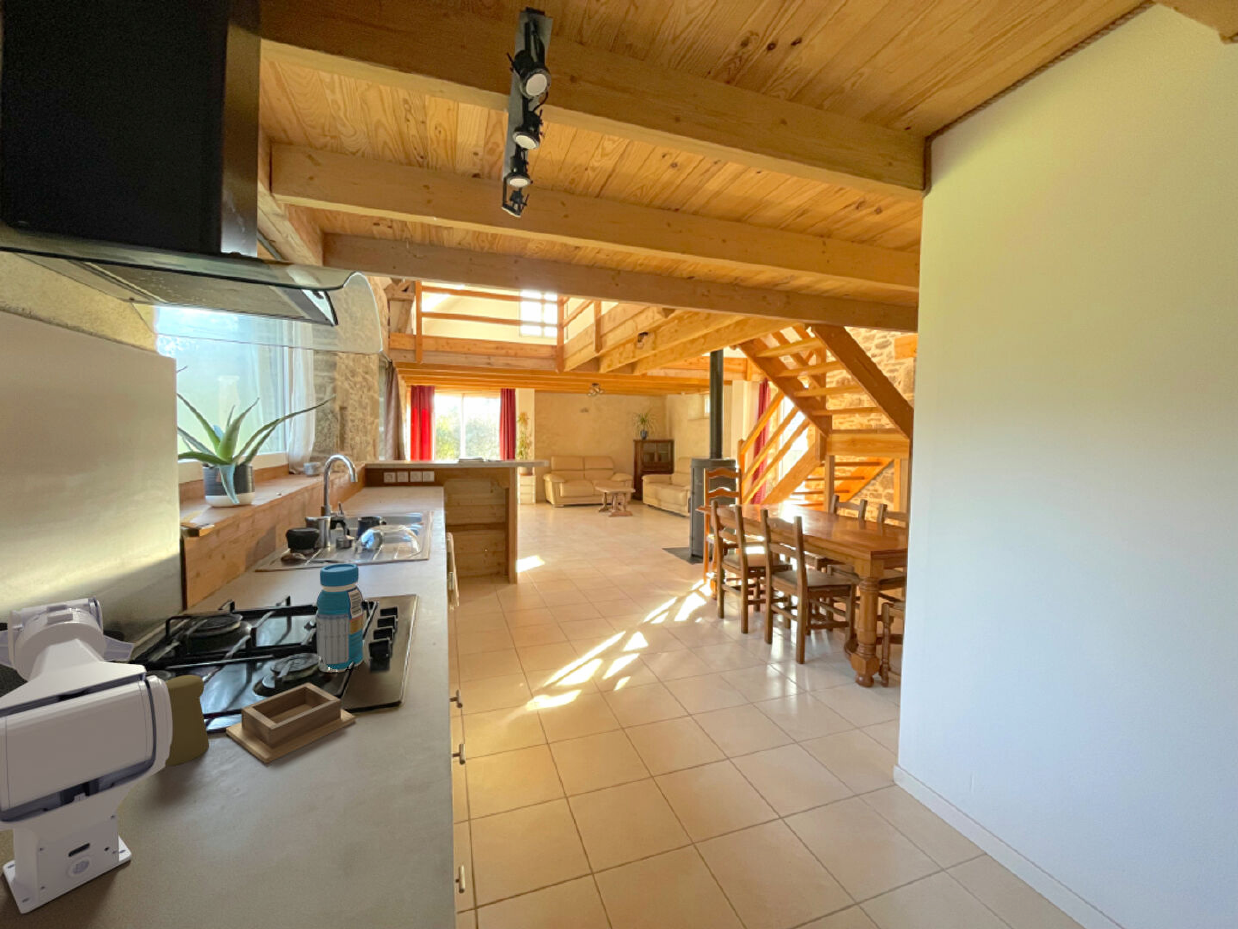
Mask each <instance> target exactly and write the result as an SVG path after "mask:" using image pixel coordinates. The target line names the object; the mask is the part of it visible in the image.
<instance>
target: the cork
mask: <svg viewBox="0 0 1238 929" xmlns="http://www.w3.org/2000/svg"><path fill="white" fill-rule="evenodd" d="M165 683H166V686H167V689H168V693H169V697H170V703H171V711H172V742H171V745H170V751H169V757H168V758H167V760H166V761H165V767H172V766H178V765H181V764H185V763H187V762H190V761H192V760H195V759H197V758H199V757H200V756H202V755H203V754H204V753H205V752H207V751H208V749H209V747H210V742H209V738H208V737H209V736H208V732H207V727H206V722H205V717H204V713H203V708H202V703H201V696H202V695H203V693H204V690H205V682H204V680H203V678H202V677H201V676H199V675H195V674H188V675H187V674H186V675H179V676H177V677H176V676H175V677H174V678H171V679H169V680H167V681H165Z"/></svg>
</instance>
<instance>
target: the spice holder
mask: <svg viewBox="0 0 1238 929" xmlns="http://www.w3.org/2000/svg"><path fill="white" fill-rule="evenodd" d="M341 702H342V701H341V699H340V698H338V697H337V696H334V695H332V694H331V693H329V692H327V691H326V690H323V689H322V688H320V687H318V686H317V685H314V684H312V683H311V682H306V683H303V684H301V685H298V686H296V687H293V688H290V689H288V690H287V689H286V690H285V691H282V692H279V693H277V694H274V695H272V696H269V697H267V698H264V699H261V700H259V701H256V702H254V703H251V704H249V705H245V706H243V707H241V708H240V713H241V714H240V716H241V719H240V722H238V723H235V724H233V725H230V726H228V727H226V728H225V734H227V735H228V736H229V737H230V738H232V739H233V740H234V741H236V742H237V743H238V744H240V745H241V746H242V747H243V748H245V749H246V750H247V751H249V752H250V753H251V754H253V756H255V757H256V758H258V759H259V760H260V761H261V762H263V763H264V764H268V763H271V762H272V761H275V760H277V759H279V758H281V757H283V756H285V755H288V754H289V753H292V752H294V751H295V750H298V749H300V748H301V747H304V746H306V745H309V744H310V743H312V742H314V741H317V740H319V739H320V738H323V737H325V736H327V735H329V734H331V733H333V732H336V731H338V730H340V729H342V728H344V727H346V726H348V725H350V724H352V723H355V722H356V716H355V715H353V714H351V713H350V712H348V711H346V710H344V709H343V708H342V707H341V706H342V705H341V704H342V703H341Z"/></svg>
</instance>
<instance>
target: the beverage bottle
mask: <svg viewBox="0 0 1238 929" xmlns="http://www.w3.org/2000/svg"><path fill="white" fill-rule="evenodd" d="M359 571H360V570H359V566H358V565H357V564H355V563H349V562H348V563H336V564H335V563H334V564H331V565H326V566H323V567H322V568H320V572H319V580H320V581H319V584H320V586H321V587H322V589H321V591H320V592H319V594H318V596H317V599H316V602H315V606H316V607H317V611H316V613H315V622H316V652H317V653H316V656H317V655H319V656H321V658H322V660H323V662H324V663H325V664H326V665H327V666H328V667H330V668H332V669H337V670H338V671H339V672H338V673H343V672H346V671H345V670H346V669H347V667H348V666H349V665H350V664H351V663H352V662H355V666H356V667H355V668H357V667H358V666H359V665H361V664H362V662H363V660H364V651H363V646H364V644H363V642H364V639H363V637H364V636H363V629H364V628H363V626H364V625H363V624H364V623H363V622H364V620H363V619H364V618H363V616H364V611H365V610H364V607H363V605H362V602H363V601H364V600H363V598H364V596H363V594H362V592H361V590H360V588H359V587H358V586H357V583H358V582H359V578H360V577H359V576H360V575H359Z"/></svg>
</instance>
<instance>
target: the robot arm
mask: <svg viewBox="0 0 1238 929" xmlns="http://www.w3.org/2000/svg"><path fill="white" fill-rule="evenodd" d="M125 638H126V637H125V633H124V632H123V631H121V630H116V629H115V630H114V629H104V620H103V611H102V607H101V603H100V601H99V600H98V599H97V597H96V595H93V596H92V597H89V598H87V597H85V598H79V599H72V600H67V601H60V602H55V603H53V602H52V603H49V604H42V605H36V606H35V605H34V606H29V607H23V608H21V610H19V611H17V610H15V609H13V610H10V612H9V615H8V619H7V622H0V668H1V667H3V666H6V667H8V668H11V669H13V671H16V672H17V673H18V675H19V676H20V677H21V678H22V679H24V680H25V681H27V682H26V683H24V684H22V685H21V686H18V687H17V688H15V689H14V690H12V691H9V692H8V693H6V694H4V695H2V696H1V697H0V832H2V831H3V832H4V831H10V830H12V837H13V840H12V841H13V842H12V843H13V856H14V857H13V858H14V859H13V860H10V861H8V862H7V863H5V864H4V865H2V872H3V874H4V877H5V879H6V881H7V884H8V887H9V888H10V891H11V894H12V896H13V898H14V900H15V903H16V905H17V907H18V910H19V913H20V914H26V913H29V912H31V911H33V910H35V909H36V908H39V907H41V906H43V905H44V904H47V903H48V902H51V901H53V900H55V899H56V898H58V897H60V896H62V895H64V894H66V893H68V892H70V891H72V890H73V889H75V888H78V887H79V886H81V885H83V884H85V883H88V882H89V881H92V880H93V879H95V878H97V877H99V876H101V875H102V874H104V873H107V872H108V871H112V870H113V869H114V868H117V867H119V866H120V865H122V864H125V863H126V862H127V861H130V860H131V858H132V852H131V850H130V849H129V848H128V846H127V845H126V843H125V842H124V840H123V839H122V837H120V835H119V816H118V814H119V813H118V812H119V811H118V807H119V806H120V805H121V803H122V802H123V801H124V799H125V798H126V797H127V795H128V794H129V793H130V791H132V788H134V787H135V786H136V785H138V784H139V783H141V782H144V780H146V779H148V778H149V777H151V776H152V775H154V774H156V773H158V772H159V771H161V770H162V769H164V768H165V767H166V766H165V761H166V760H167V758H168V757H169V751H170V745H171V742H172V711H171V703H170V697H169V693H168V689H167V686H166V683H165V682H166V681H165V680H164V679H162V678H160V677H158V676H157V675H155V674H154V675H149V676H146V675H147V673H148V672H147V669H146V667H145V666H144V665H143V664H130V663H123V662H128V661H129V660H130V659H131V655H132V653H133V650H134V648H135V645H136V643H134V642H133V643H132V642H127V641H126V642H125V641H124V640H125ZM116 661H118V662H116ZM120 662H121V663H120Z"/></svg>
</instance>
